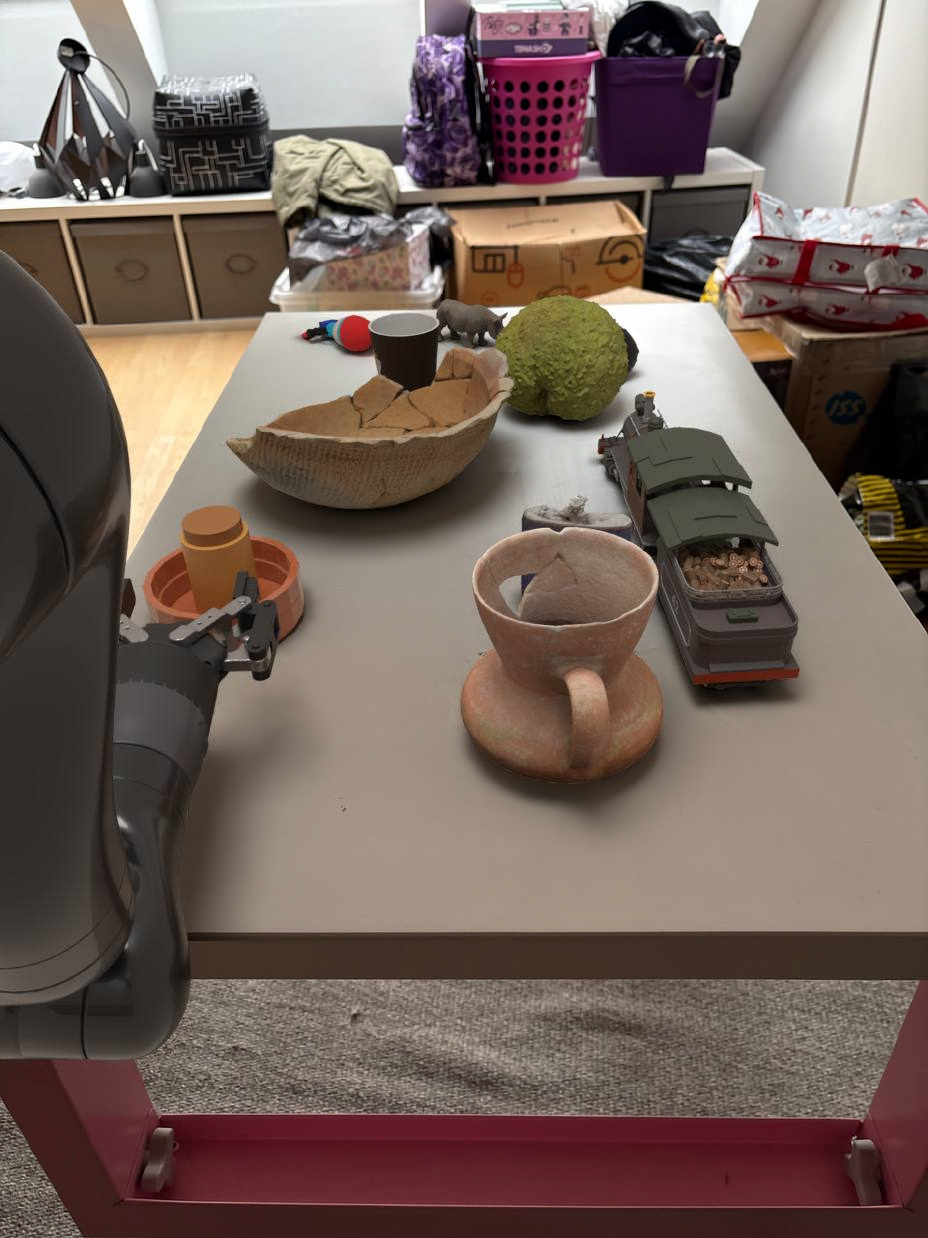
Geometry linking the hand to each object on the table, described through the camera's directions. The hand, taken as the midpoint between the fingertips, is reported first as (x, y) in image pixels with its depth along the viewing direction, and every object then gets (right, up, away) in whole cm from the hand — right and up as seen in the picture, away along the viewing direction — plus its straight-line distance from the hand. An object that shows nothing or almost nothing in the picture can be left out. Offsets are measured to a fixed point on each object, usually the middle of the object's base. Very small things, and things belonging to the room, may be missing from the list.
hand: (186, 584), depth 71 cm
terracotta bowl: (0, -2, +14) cm, 14 cm away
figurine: (+39, +33, +61) cm, 79 cm away
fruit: (+32, +23, +47) cm, 62 cm away
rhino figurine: (+22, +36, +67) cm, 80 cm away
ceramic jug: (+27, -11, 0) cm, 30 cm away
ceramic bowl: (+11, +12, +33) cm, 37 cm away
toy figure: (+3, +37, +70) cm, 79 cm away
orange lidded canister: (0, -2, +14) cm, 14 cm away
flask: (+30, -2, +14) cm, 33 cm away
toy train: (+40, +4, +20) cm, 45 cm away
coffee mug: (+14, +26, +53) cm, 60 cm away
